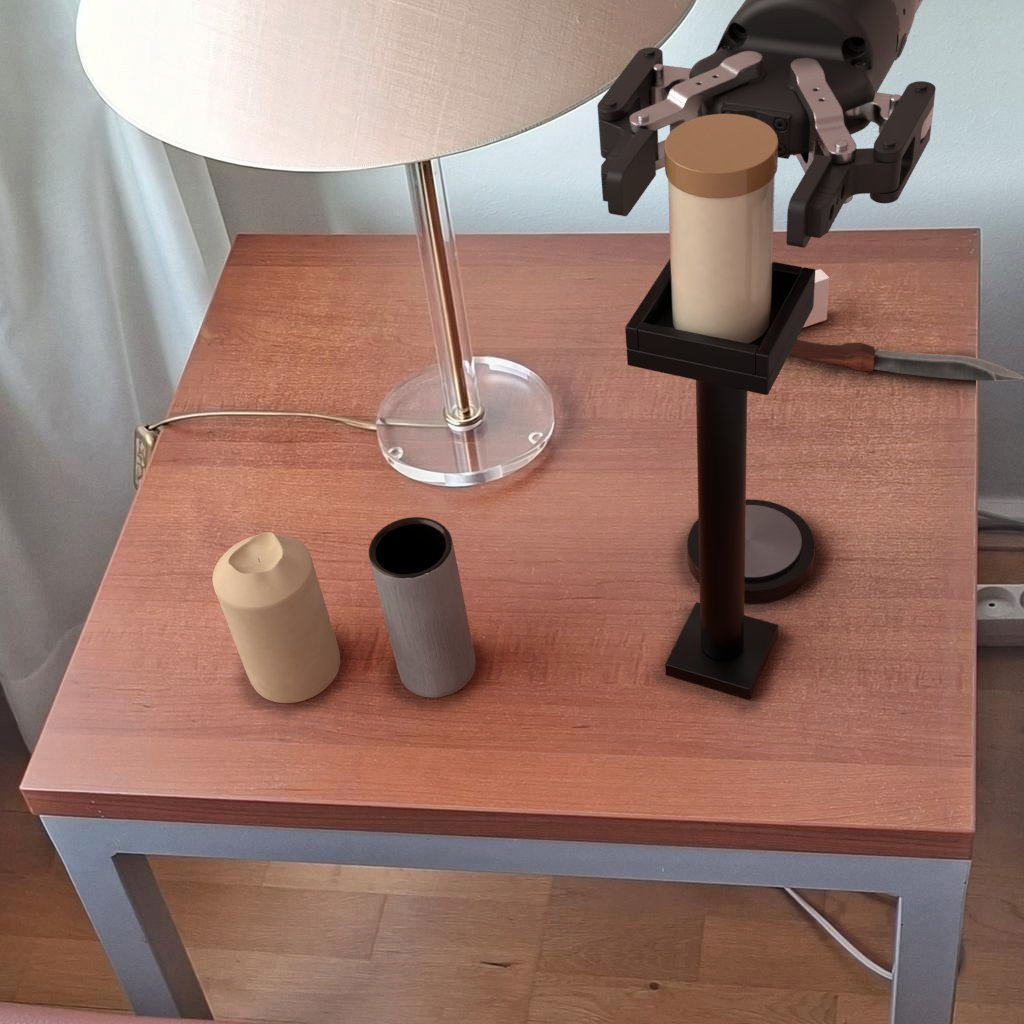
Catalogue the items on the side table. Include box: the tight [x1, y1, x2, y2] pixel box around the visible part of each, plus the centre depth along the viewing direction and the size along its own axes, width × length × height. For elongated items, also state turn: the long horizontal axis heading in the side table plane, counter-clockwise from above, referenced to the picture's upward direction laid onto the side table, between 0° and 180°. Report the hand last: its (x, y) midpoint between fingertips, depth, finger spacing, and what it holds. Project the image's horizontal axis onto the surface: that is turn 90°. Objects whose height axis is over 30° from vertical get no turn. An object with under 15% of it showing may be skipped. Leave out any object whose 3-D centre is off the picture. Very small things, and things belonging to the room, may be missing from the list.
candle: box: [212, 531, 341, 704], centre depth 80 cm, size 6×6×10 cm
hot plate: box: [686, 498, 816, 605], centre depth 85 cm, size 8×8×2 cm
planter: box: [367, 516, 476, 698], centre depth 79 cm, size 4×4×10 cm
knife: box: [788, 339, 1024, 382], centre depth 96 cm, size 18×2×3 cm
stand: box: [624, 258, 816, 701], centre depth 72 cm, size 7×7×25 cm
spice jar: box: [664, 114, 779, 344], centre depth 61 cm, size 5×5×9 cm
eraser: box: [802, 268, 830, 329], centre depth 100 cm, size 1×5×4 cm, turn 112°
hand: (703, 212), depth 58 cm, fingers open, 7 cm apart
